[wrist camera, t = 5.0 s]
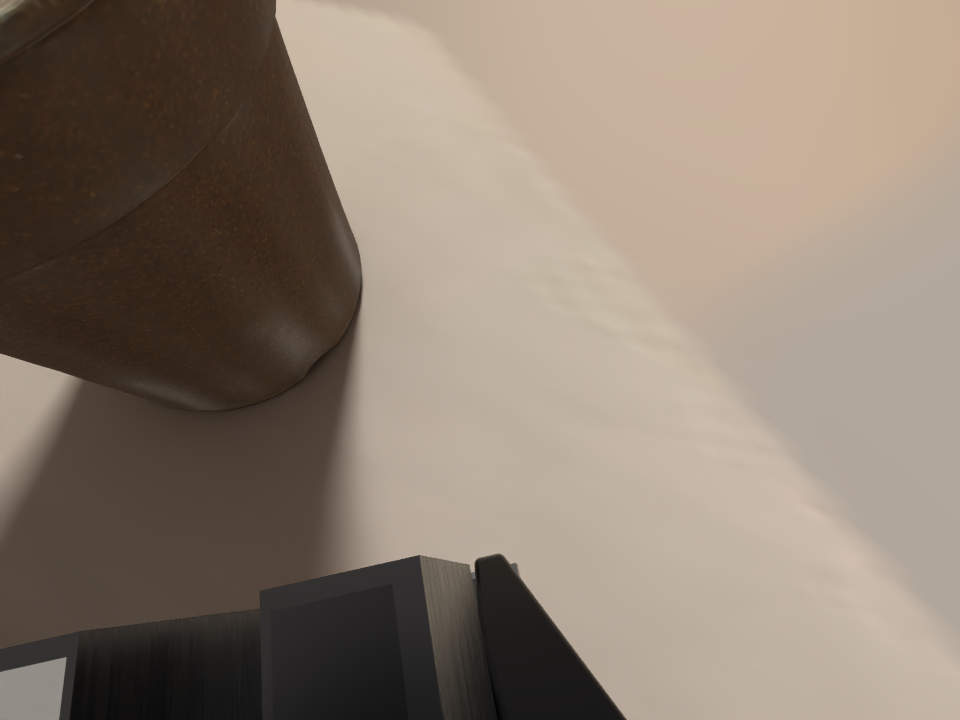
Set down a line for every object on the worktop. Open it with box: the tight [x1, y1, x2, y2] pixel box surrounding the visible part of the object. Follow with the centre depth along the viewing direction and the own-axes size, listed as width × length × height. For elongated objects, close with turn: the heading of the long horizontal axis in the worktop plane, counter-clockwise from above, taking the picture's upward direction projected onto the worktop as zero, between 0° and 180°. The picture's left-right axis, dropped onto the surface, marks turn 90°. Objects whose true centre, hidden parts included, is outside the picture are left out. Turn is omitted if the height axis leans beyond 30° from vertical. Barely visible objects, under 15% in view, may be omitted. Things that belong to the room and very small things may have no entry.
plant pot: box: [0, 0, 361, 411], centre depth 16 cm, size 16×16×16 cm
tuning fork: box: [0, 555, 520, 720], centre depth 7 cm, size 3×3×12 cm
